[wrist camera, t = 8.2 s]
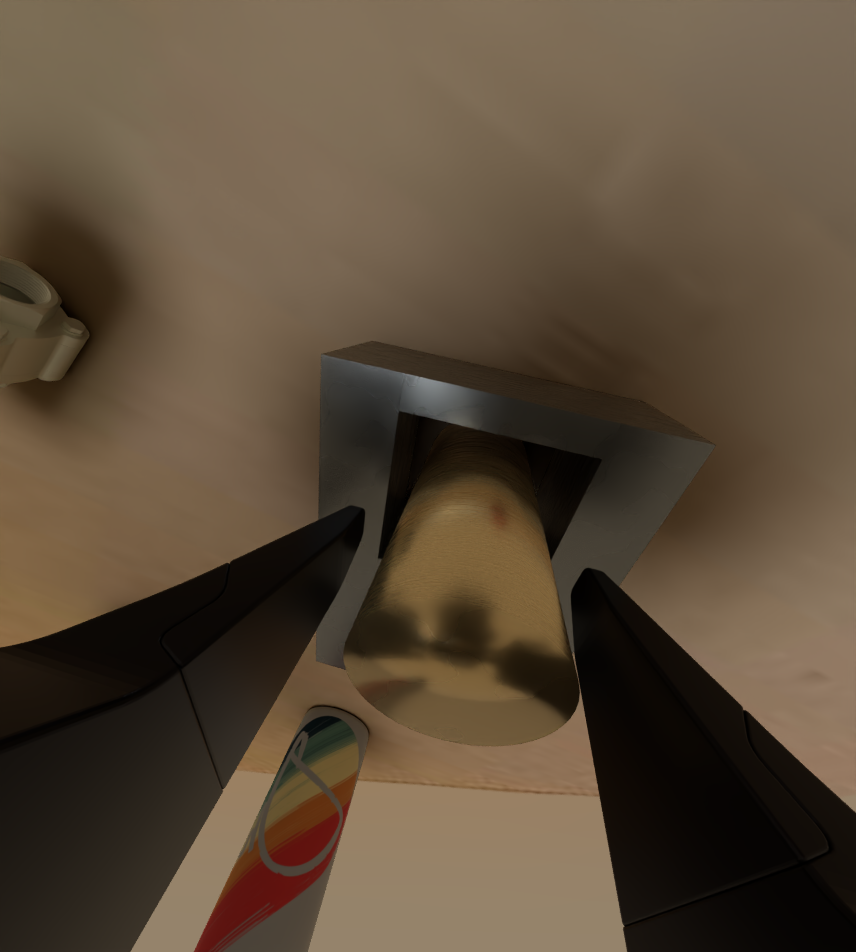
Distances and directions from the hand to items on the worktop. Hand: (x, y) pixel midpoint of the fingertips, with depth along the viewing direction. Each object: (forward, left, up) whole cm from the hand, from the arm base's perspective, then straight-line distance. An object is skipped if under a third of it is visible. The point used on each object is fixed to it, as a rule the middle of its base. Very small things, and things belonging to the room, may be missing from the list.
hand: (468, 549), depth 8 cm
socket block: (-3, 0, -6) cm, 6 cm away
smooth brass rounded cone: (0, 0, -6) cm, 6 cm away
